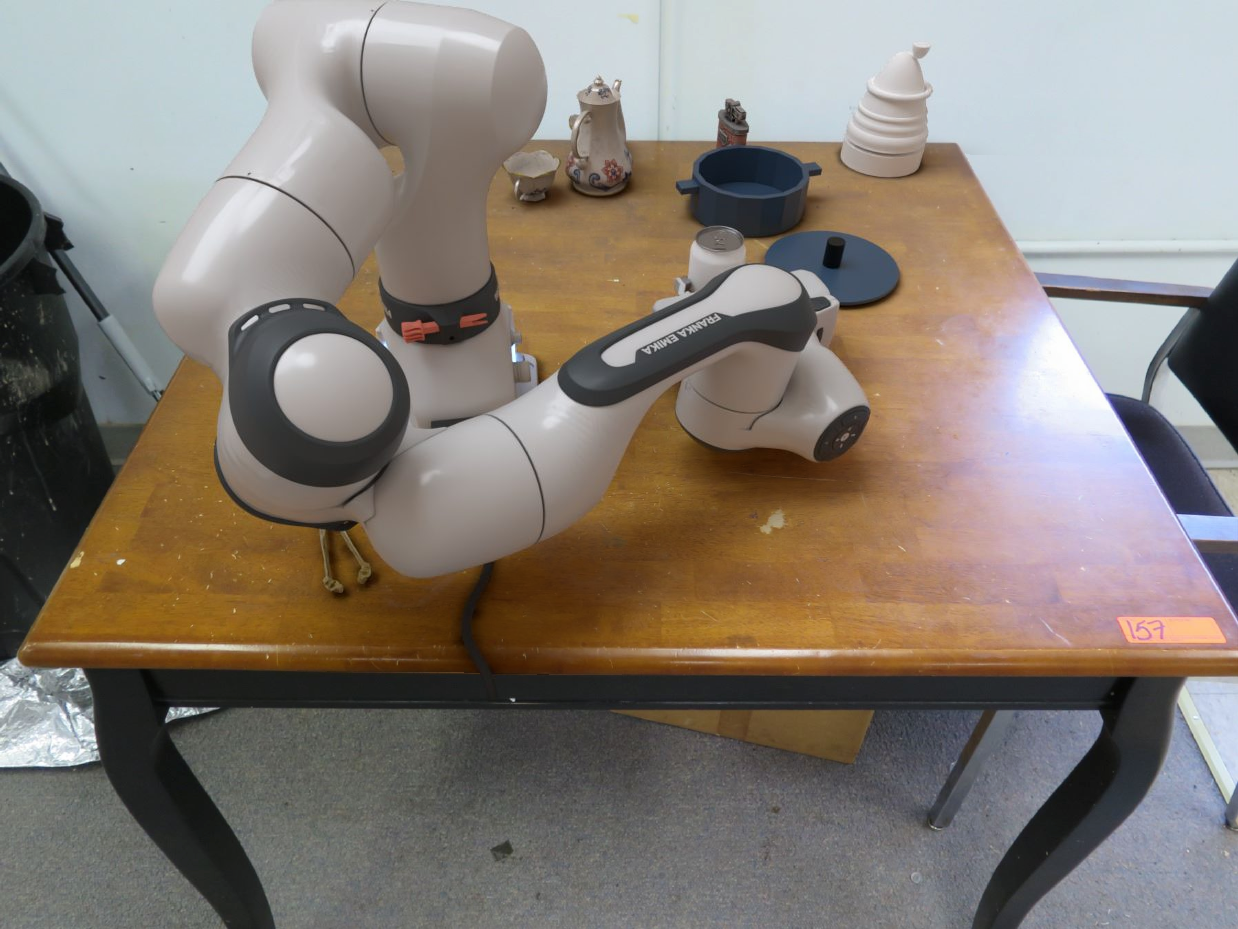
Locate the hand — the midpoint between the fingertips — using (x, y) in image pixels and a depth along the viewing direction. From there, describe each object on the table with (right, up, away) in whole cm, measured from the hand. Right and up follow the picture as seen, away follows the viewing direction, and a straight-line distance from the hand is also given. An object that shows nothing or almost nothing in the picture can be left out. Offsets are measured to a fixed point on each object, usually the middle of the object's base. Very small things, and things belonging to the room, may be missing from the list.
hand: (711, 275), depth 94 cm
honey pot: (+32, +28, +37) cm, 56 cm away
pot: (+8, +16, +25) cm, 31 cm away
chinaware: (-17, +23, +31) cm, 42 cm away
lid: (+18, +4, +12) cm, 22 cm away
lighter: (+7, +26, +35) cm, 44 cm away
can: (0, -5, +4) cm, 7 cm away
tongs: (-38, -30, -20) cm, 53 cm away
